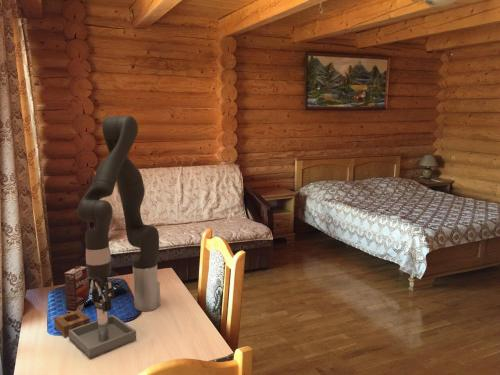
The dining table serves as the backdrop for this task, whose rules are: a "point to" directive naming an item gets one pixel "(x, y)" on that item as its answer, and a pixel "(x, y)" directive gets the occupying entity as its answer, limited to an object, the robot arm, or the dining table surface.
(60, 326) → the pin holder
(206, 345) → the dining table surface
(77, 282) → the supplement box
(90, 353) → the tray
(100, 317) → the lock pin
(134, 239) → the robot arm
